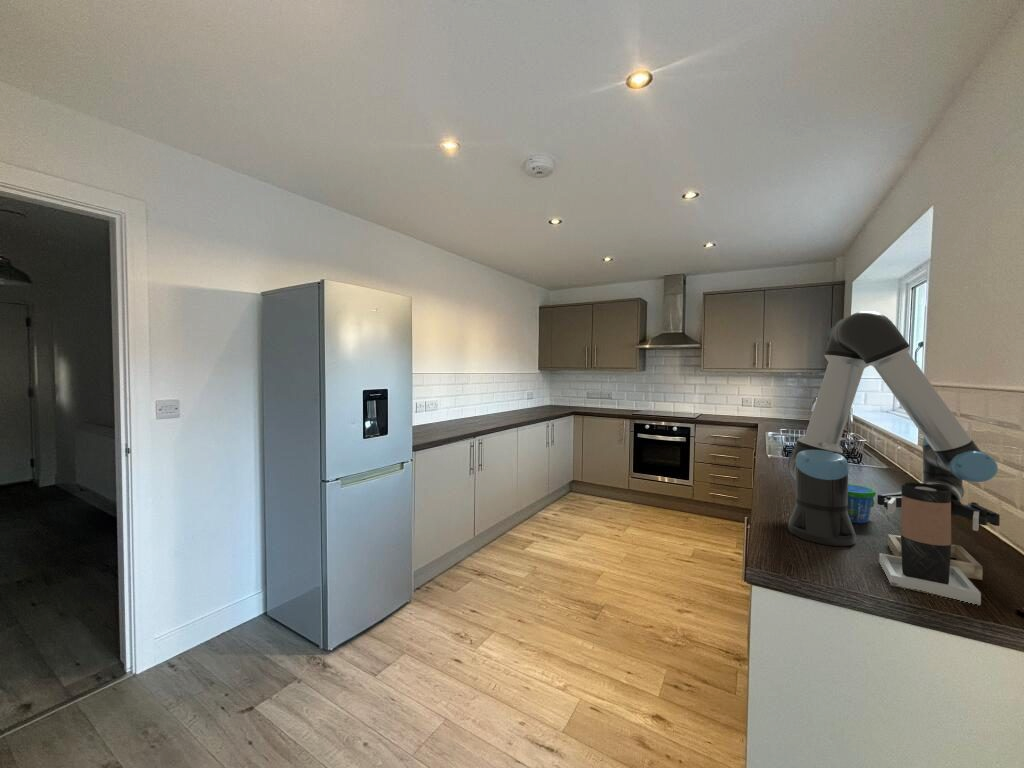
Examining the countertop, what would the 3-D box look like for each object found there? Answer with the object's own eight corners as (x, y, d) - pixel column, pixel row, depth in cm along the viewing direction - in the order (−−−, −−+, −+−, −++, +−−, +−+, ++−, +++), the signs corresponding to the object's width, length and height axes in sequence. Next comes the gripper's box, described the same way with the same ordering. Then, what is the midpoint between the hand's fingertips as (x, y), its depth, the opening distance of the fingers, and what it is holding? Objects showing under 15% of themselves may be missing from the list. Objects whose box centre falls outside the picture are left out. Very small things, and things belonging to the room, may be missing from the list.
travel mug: (961, 588, 83) (962, 492, 83) (918, 584, 85) (918, 490, 85) (931, 571, 91) (932, 483, 90) (891, 567, 92) (892, 481, 92)
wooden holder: (899, 564, 96) (899, 552, 96) (887, 545, 107) (887, 534, 107) (982, 580, 89) (982, 566, 88) (960, 557, 100) (960, 545, 100)
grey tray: (890, 586, 86) (890, 575, 86) (879, 563, 97) (879, 553, 97) (980, 605, 79) (981, 593, 79) (957, 578, 89) (957, 567, 89)
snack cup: (847, 527, 120) (847, 493, 119) (815, 515, 130) (815, 484, 130) (891, 524, 122) (891, 491, 122) (856, 513, 132) (856, 482, 132)
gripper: (1014, 525, 96) (1017, 550, 82) (875, 501, 115) (859, 518, 101) (1015, 494, 96) (1017, 513, 82) (875, 475, 115) (859, 488, 101)
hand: (930, 516), depth 92 cm, fingers open, 13 cm apart
